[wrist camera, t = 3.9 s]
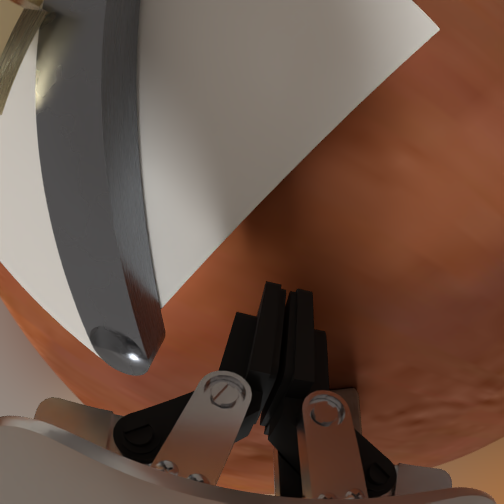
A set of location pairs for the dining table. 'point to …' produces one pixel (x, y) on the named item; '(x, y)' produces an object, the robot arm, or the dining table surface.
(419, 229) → the dining table surface
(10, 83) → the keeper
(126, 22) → the link
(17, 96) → the base plate
